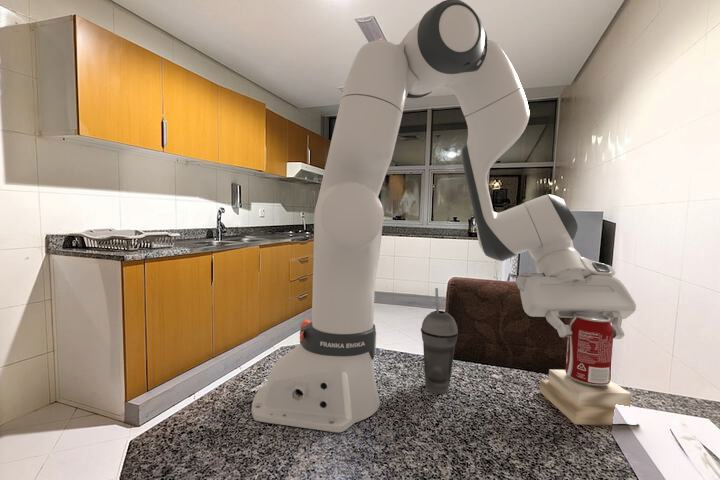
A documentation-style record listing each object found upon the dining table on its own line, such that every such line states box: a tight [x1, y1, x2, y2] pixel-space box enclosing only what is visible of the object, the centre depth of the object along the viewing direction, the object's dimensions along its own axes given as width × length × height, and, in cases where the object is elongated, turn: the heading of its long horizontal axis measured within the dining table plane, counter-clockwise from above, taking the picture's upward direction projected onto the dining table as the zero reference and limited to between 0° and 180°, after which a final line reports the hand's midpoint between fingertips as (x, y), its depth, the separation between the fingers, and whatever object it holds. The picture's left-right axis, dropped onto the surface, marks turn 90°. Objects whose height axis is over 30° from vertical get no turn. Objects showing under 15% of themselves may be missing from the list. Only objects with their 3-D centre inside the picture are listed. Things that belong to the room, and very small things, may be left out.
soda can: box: [565, 312, 614, 387], centre depth 63 cm, size 7×7×12 cm
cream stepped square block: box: [539, 368, 635, 426], centre depth 63 cm, size 11×11×5 cm
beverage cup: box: [420, 287, 459, 395], centre depth 68 cm, size 7×7×20 cm
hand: (592, 336), depth 62 cm, fingers open, 8 cm apart
